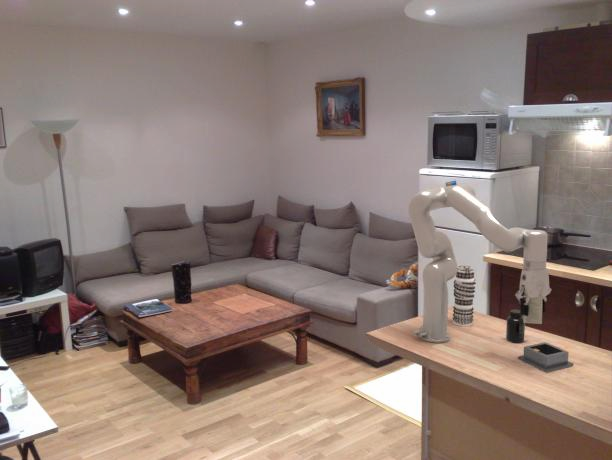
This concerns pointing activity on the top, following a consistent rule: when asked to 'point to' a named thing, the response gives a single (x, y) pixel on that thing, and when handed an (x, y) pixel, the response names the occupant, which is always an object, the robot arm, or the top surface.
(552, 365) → the socket
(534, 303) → the skincare box
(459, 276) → the decorative candle
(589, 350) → the top surface
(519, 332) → the supplement bottle
